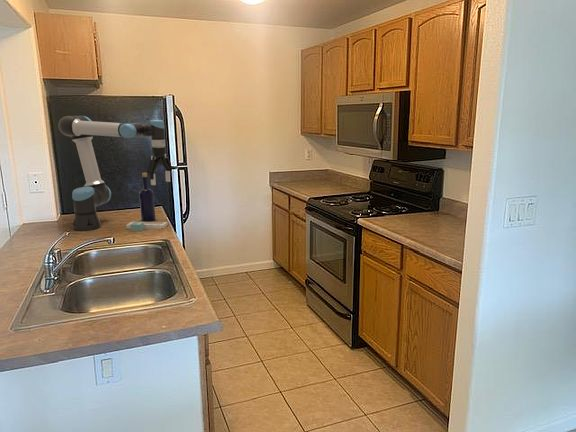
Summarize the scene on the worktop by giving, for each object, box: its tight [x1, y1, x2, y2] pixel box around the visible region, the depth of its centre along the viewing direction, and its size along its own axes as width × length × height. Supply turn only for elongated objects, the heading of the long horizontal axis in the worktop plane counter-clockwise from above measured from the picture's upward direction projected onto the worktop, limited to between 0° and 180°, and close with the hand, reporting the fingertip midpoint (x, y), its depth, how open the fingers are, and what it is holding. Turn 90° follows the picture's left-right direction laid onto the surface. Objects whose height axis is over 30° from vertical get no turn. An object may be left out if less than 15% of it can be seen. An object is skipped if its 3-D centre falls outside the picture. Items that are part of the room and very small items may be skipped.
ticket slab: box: [125, 221, 169, 230], centre depth 254 cm, size 22×8×2 cm, turn 87°
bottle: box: [138, 172, 157, 222], centre depth 266 cm, size 9×9×30 cm
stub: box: [130, 221, 145, 232], centre depth 247 cm, size 6×5×4 cm
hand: (160, 183), depth 254 cm, fingers open, 13 cm apart
